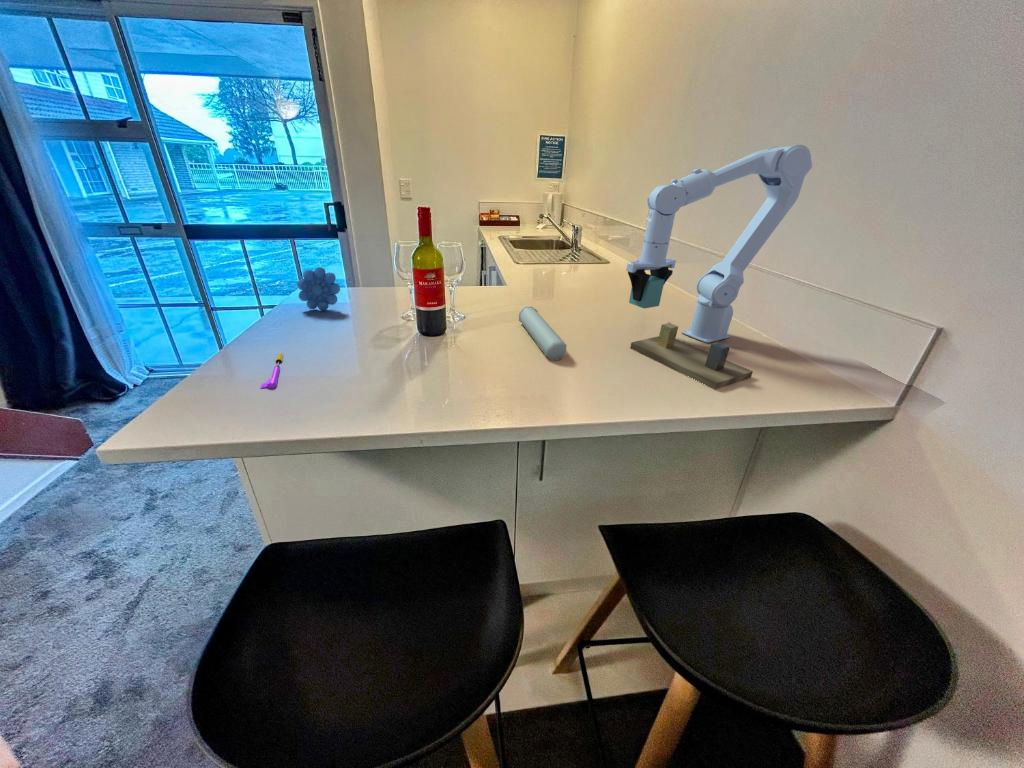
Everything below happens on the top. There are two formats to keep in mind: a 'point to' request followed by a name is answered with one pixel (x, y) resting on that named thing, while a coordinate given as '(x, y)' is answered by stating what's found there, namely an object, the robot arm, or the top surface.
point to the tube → (542, 333)
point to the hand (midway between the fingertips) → (645, 298)
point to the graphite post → (717, 356)
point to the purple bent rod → (273, 375)
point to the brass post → (667, 335)
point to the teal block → (650, 293)
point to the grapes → (318, 288)
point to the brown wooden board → (691, 362)
